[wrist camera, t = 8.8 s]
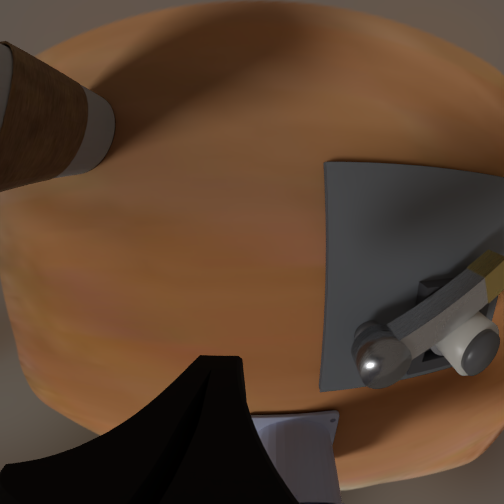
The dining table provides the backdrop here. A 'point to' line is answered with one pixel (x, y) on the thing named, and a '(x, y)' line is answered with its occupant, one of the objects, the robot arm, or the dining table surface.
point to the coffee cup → (47, 122)
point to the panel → (398, 250)
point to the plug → (470, 345)
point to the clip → (426, 322)
